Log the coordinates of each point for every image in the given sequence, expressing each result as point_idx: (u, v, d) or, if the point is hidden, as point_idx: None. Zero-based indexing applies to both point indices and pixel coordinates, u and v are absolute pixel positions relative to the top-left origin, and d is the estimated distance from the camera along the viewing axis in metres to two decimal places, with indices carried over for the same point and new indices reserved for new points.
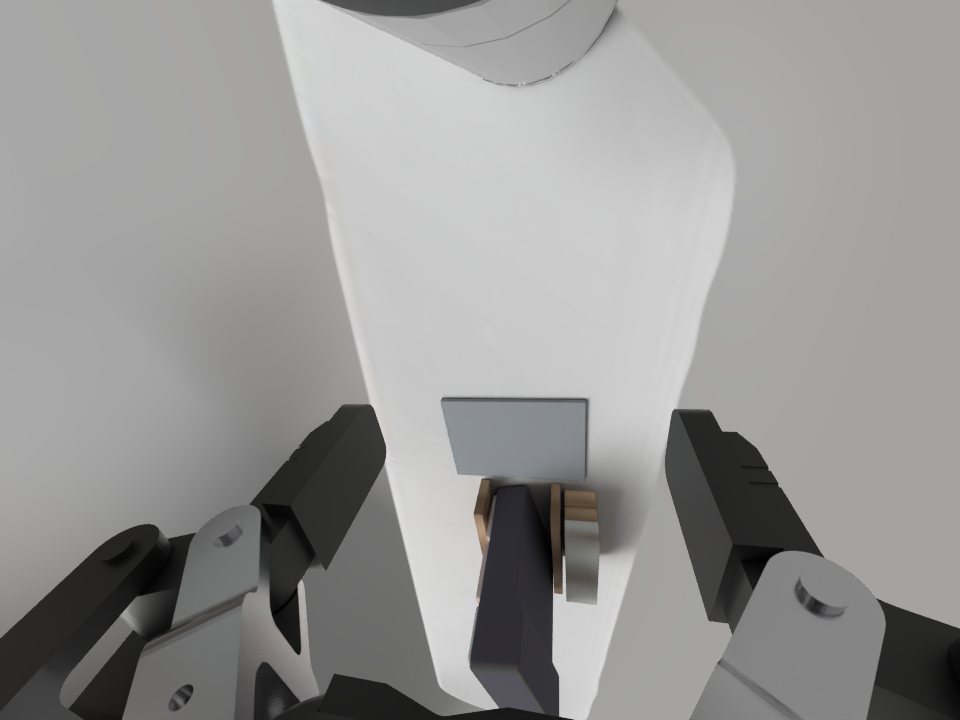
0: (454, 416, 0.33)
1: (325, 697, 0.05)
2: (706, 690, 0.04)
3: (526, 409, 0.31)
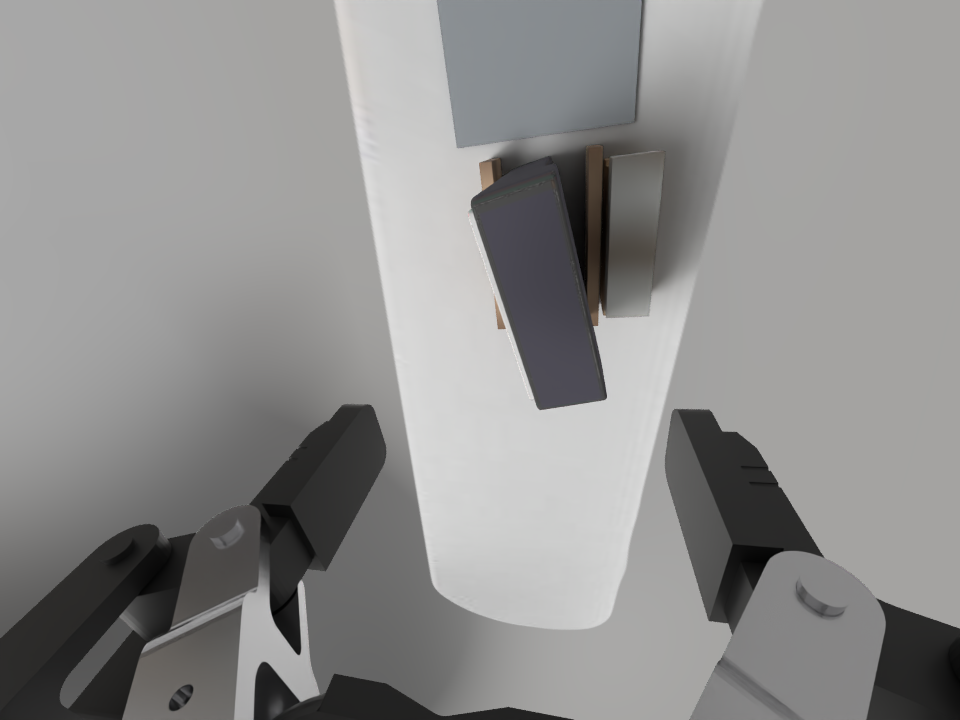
0: (453, 11, 0.24)
1: (325, 697, 0.05)
2: (706, 690, 0.04)
3: None
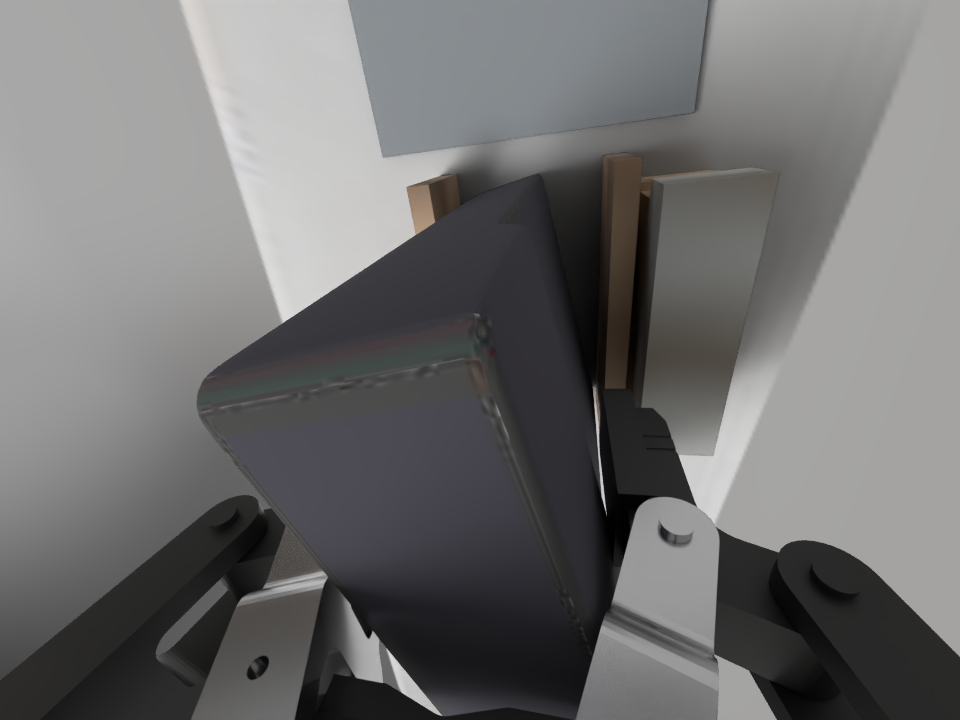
0: None
1: (325, 697, 0.05)
2: (599, 637, 0.04)
3: None
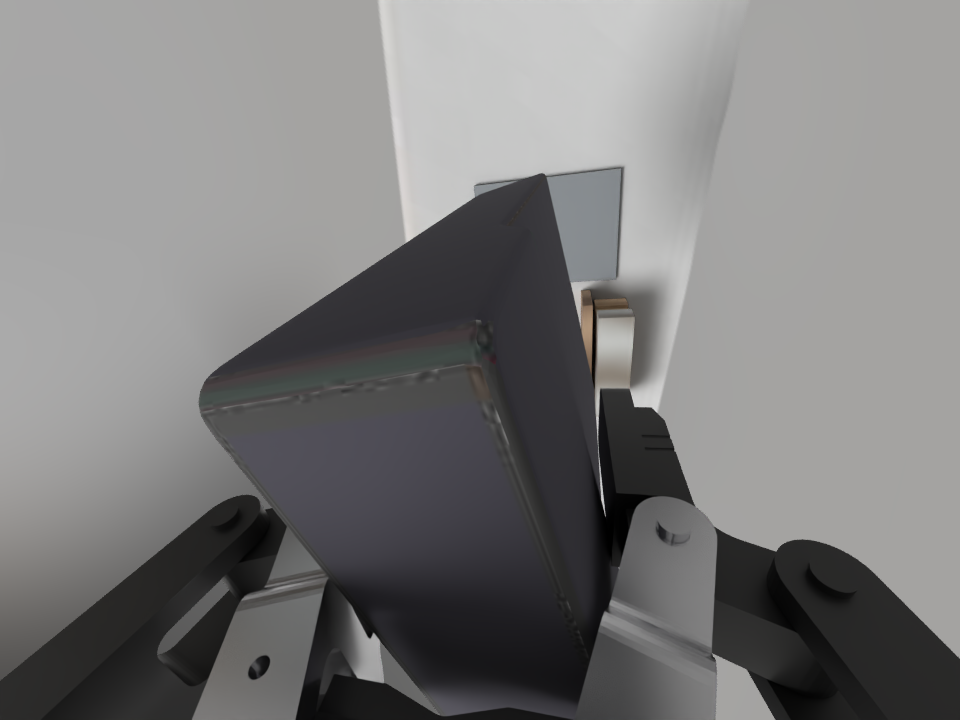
0: None
1: (325, 697, 0.05)
2: (598, 637, 0.04)
3: (560, 186, 0.31)
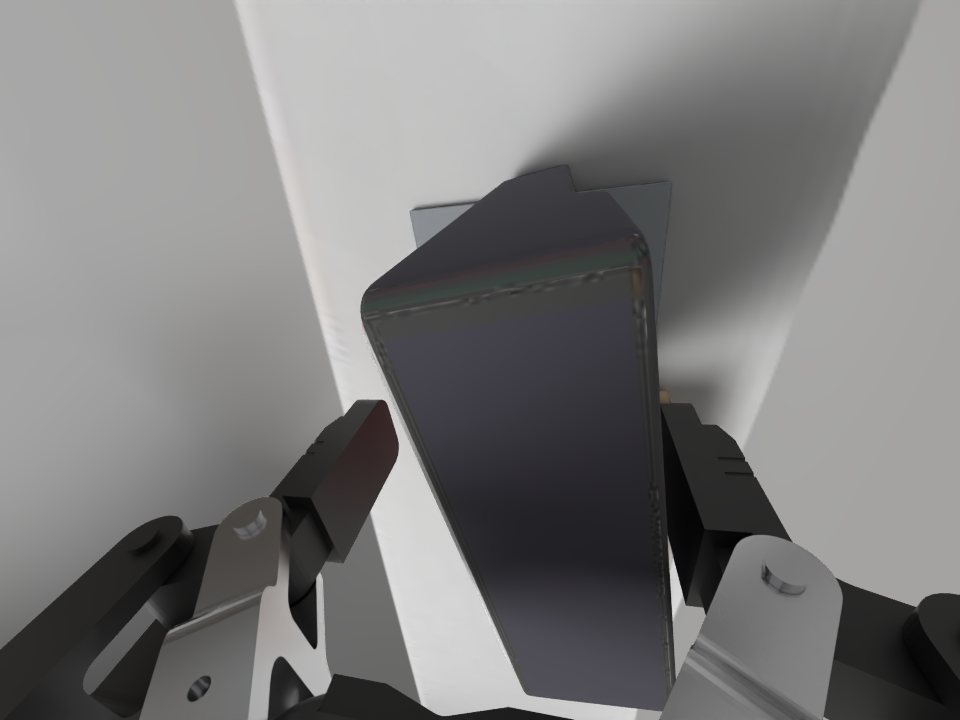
0: None
1: (325, 697, 0.05)
2: (680, 674, 0.04)
3: None
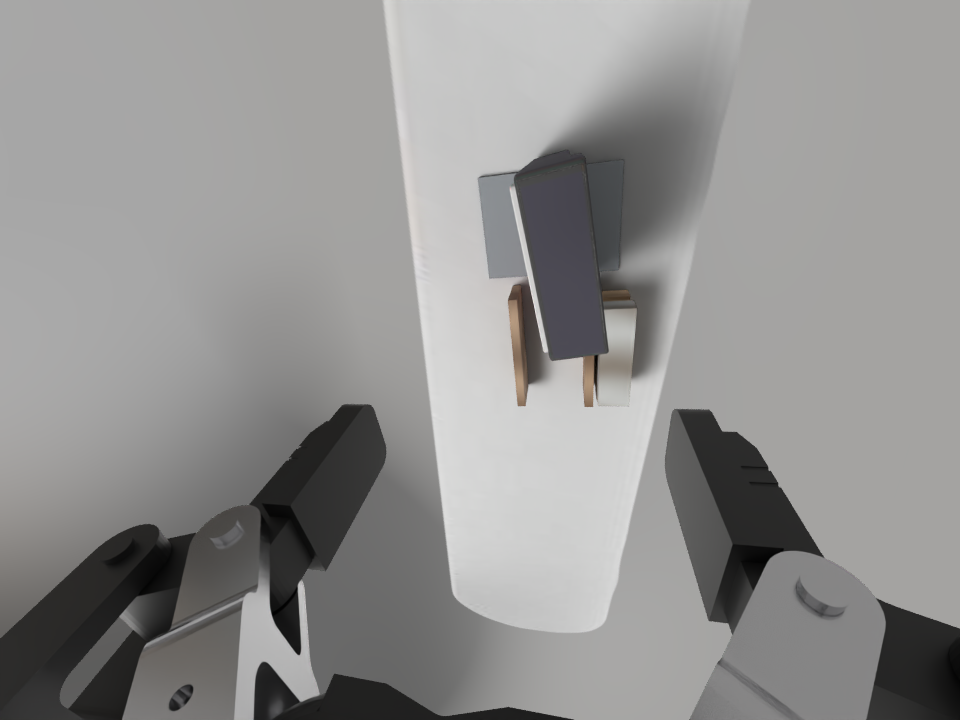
0: (490, 197, 0.34)
1: (325, 697, 0.05)
2: (706, 690, 0.04)
3: None
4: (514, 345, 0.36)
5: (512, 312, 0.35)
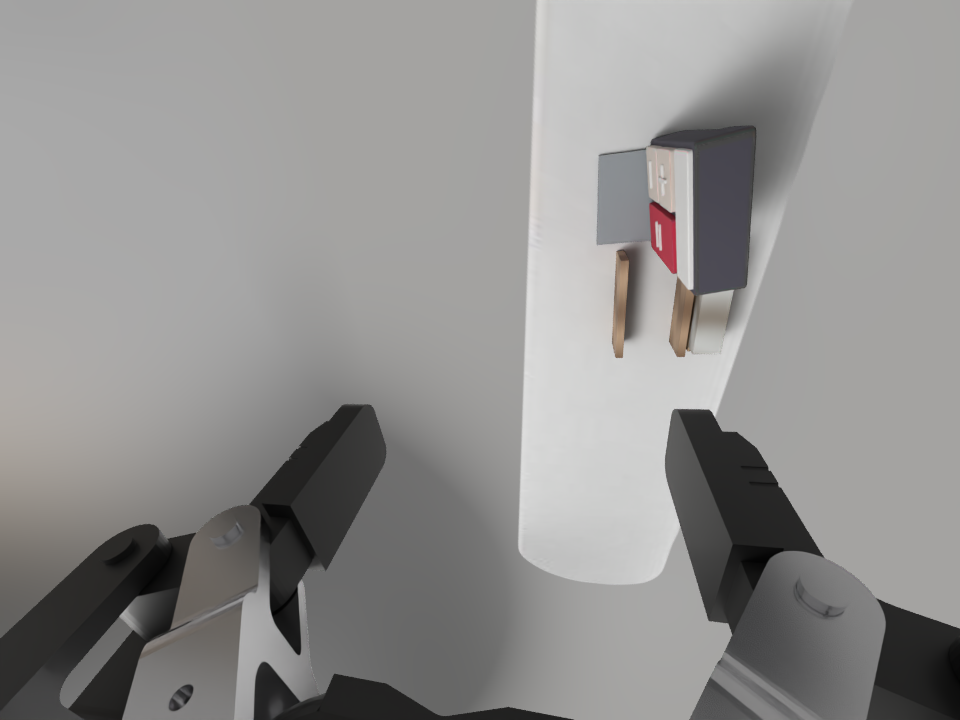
0: (608, 172, 0.39)
1: (325, 697, 0.05)
2: (706, 690, 0.04)
3: None
4: (620, 301, 0.42)
5: (623, 271, 0.41)
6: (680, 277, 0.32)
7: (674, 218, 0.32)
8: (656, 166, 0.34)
